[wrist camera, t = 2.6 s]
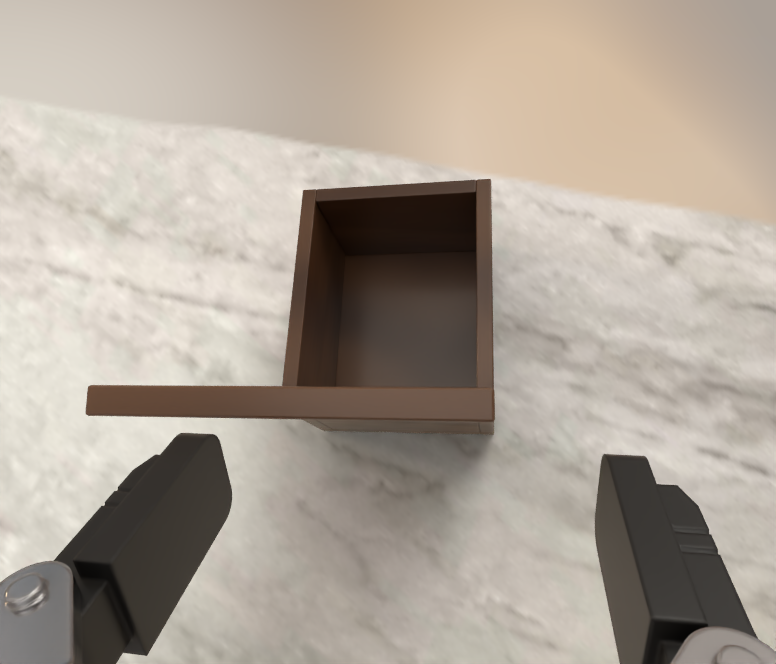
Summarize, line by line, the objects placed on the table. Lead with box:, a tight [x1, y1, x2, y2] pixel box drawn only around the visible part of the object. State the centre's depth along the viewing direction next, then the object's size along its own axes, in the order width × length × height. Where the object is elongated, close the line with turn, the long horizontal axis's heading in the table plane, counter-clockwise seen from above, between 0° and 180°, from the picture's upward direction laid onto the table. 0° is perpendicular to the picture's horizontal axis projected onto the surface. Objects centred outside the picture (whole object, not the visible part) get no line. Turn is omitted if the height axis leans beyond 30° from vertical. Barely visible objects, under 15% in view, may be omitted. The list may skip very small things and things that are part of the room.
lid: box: [86, 385, 495, 423], centre depth 20 cm, size 13×11×1 cm
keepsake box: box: [282, 179, 494, 435], centre depth 33 cm, size 13×11×8 cm
